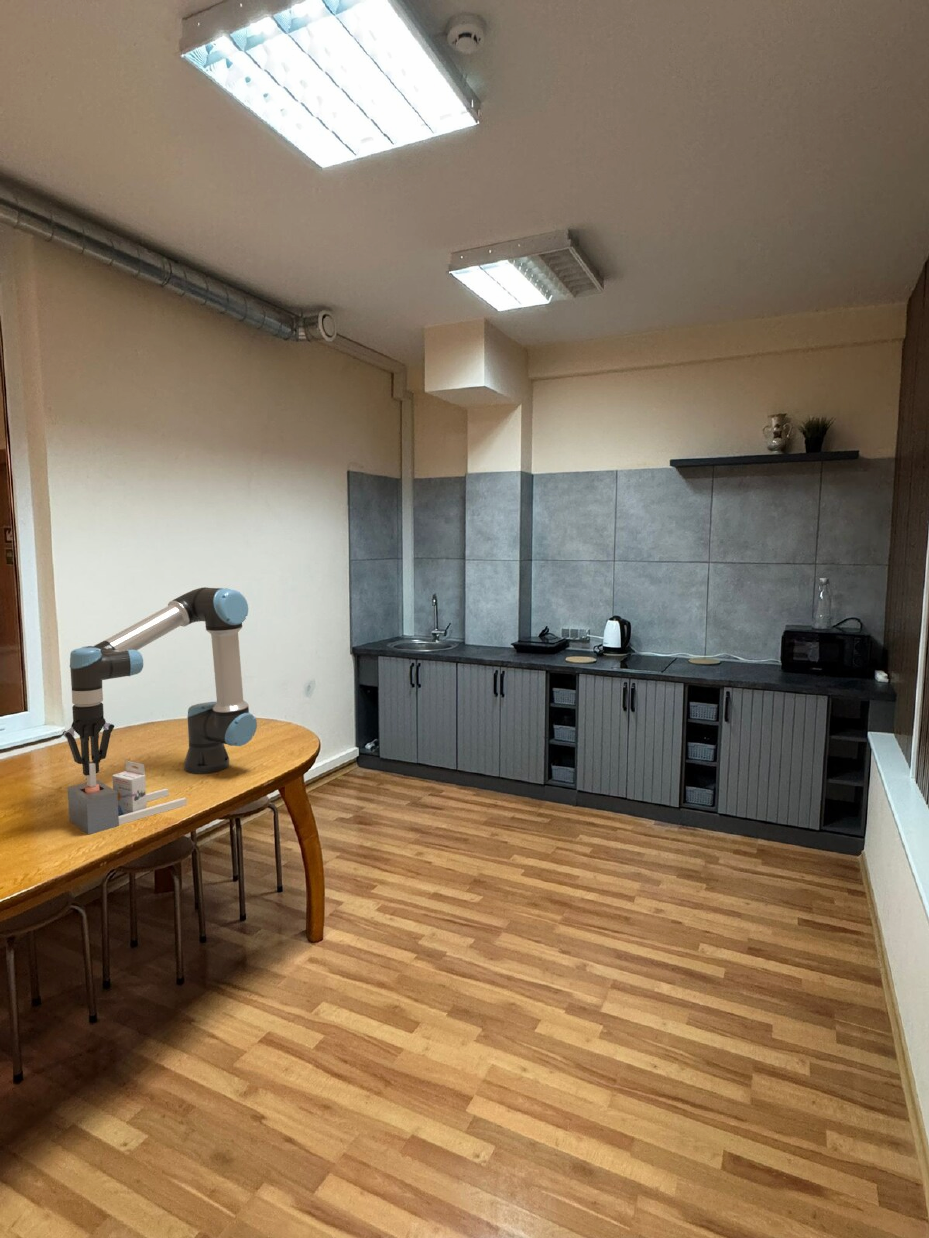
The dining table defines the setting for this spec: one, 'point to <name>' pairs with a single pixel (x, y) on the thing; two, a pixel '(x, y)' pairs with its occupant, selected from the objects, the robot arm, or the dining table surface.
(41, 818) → the dining table surface
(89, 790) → the gauge plunger
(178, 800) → the rail track
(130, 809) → the ink box
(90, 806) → the grey rectangular block
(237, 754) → the dining table surface
